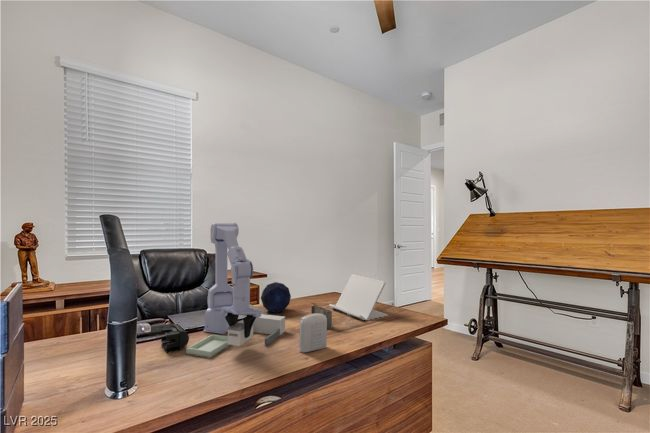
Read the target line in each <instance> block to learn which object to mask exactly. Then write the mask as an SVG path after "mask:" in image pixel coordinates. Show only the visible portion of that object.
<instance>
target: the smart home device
mask: <svg viewBox="0 0 650 433" xmlns="http://www.w3.org/2000/svg"><path fill="white" fill-rule="evenodd" d="M173 324H174V323H173V322H172V323H168V324H162V325H152V326H150V327H151V332H150V333H148V334H147V335H152V336H157V334H158V335H165V334H164V333H161V329H162V328H167V327H173ZM137 337H138V334H137Z"/></svg>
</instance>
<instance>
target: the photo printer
mask: <svg viewBox="0 0 650 433" xmlns="http://www.w3.org/2000/svg"><path fill="white" fill-rule="evenodd" d="M327 330H328V329H327V318H326V316H325V315H323V314H319V313H315V314H311V313H310V314H307V315H304V316H302V317H301V318H300V319H299V332H298V333H299V338H298V342H299V343H298V348H299V352H301V353H310V352H312V351H314V352H315V351H318V350H323V349H326V348H327V339H328V338H327V336H328V335H327V333H328V331H327Z"/></svg>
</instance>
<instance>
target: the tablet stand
mask: <svg viewBox="0 0 650 433" xmlns="http://www.w3.org/2000/svg"><path fill="white" fill-rule="evenodd" d="M386 283H387V282H386V281H385V280H381V279H376V278H372V277H367V276H364V275H363V276H362V275H358V274H354V273H352V274H351V275H350V277H349V279H348V281H347V283H346V284H345V287H344V288H343V290H342V292H341V295H340V296H339V298H338V300H337V302H336V304H335V305H334V304H332V303H329V305H328V306H329V307H330V308H332V309H333V310H337V311H339V312H342V313H344V314H346V313H347V315H349V316H352V317H353V318H354V317H355V318H357V319H359V320H362V321H364V320H368V321H371V320H370V319H372V320H375V319H374V318H377V319H380V318H379V317H382V318H385V317H384V316H386V317H388V316H389V314H387V313H384V312H382V311H379V310H376V309H375V306H376V304H377V302H378V300H379V299H380V296H381V294H382V292H383V290H384V288H385V286H386Z"/></svg>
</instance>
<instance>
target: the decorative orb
mask: <svg viewBox="0 0 650 433" xmlns="http://www.w3.org/2000/svg"><path fill="white" fill-rule="evenodd" d="M291 298H292V296H291V292H290V288H289V287H287V286H286V285H285V284H284V283H281V282H276V281H274V282H272V283H268V284H267V285H266V286H265V287H264V289H263V290H262V293H261V296H260V300H261V303H262V307H263V308H264V309H265V310H267V311H268V312H270V313H271V312H272V313H275V314H277V313H280V312H283V311H285V310H286V308H288V306H289V305H290V302H291Z"/></svg>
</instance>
